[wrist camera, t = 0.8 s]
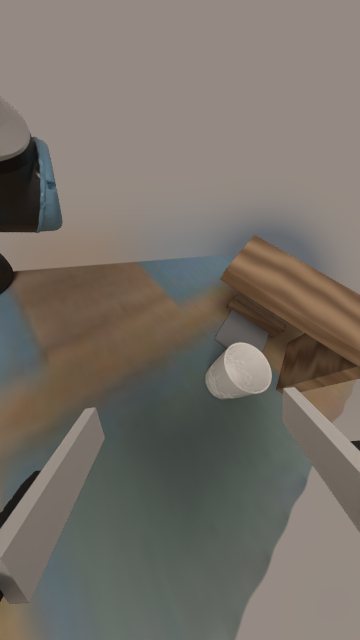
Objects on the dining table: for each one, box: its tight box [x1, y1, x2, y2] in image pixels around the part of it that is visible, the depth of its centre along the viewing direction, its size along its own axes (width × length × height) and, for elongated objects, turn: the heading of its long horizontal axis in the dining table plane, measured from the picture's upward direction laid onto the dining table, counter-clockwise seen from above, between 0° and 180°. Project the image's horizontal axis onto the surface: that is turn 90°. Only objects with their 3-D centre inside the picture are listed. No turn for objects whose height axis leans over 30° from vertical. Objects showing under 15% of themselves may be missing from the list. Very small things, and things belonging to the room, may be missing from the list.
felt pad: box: [214, 309, 269, 353], centre depth 41 cm, size 11×11×1 cm
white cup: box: [205, 342, 272, 399], centre depth 30 cm, size 8×8×10 cm
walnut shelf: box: [220, 235, 360, 394], centre depth 34 cm, size 14×24×18 cm, turn 56°
